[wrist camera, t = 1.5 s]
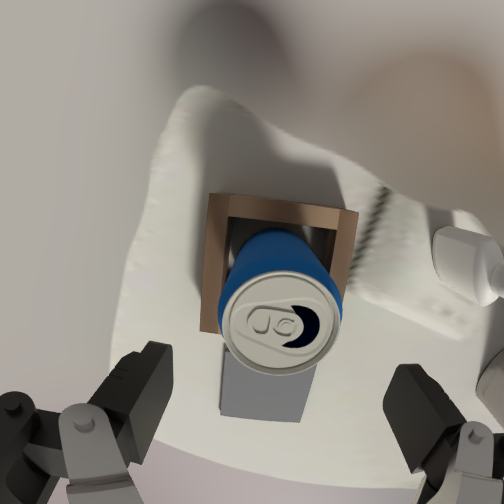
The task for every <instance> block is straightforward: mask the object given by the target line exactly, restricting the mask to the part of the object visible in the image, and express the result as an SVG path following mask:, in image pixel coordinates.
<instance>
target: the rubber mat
mask: <svg viewBox="0 0 504 504" xmlns="http://www.w3.org/2000/svg"><path fill="white" fill-rule="evenodd" d="M316 366H317V364H316V365H314V366H313V367H311V368H309V369H307V370H305V371H302V372H299V373H295V374H291V375H280V376H277V375H268V374H263V373H260V372H257V371H254V370H252V369H250V368H248V367H246V366H245V365H243V364H242V363H241V362H239V361H238V360H237V359H236V358H235V357H234V356H233V354H232V353H231V352H230V350H229V349H226V351H225V361H224V374H223V386H222V399H221V412H220V415H222V416H229V417H237V418H245V419H254V420H265V421H278V422H298V423H300V420H301V417H302V414H303V411H304V407H305V404H306V401H307V398H308V394H309V391H310V387H311V384H312V381H313V377H314V373H315V370H316Z"/></svg>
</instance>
